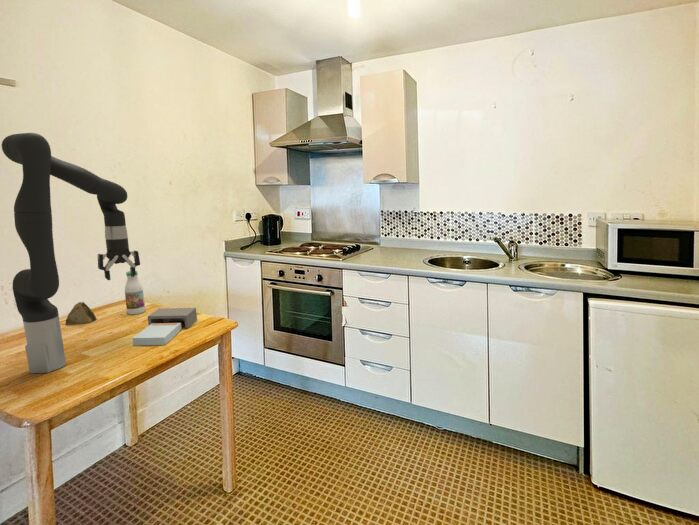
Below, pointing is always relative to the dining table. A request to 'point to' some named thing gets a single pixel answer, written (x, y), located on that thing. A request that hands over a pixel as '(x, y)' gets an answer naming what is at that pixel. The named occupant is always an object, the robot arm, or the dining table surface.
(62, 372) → the dining table surface
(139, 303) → the milk bottle
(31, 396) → the dining table surface
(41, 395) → the dining table surface
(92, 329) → the dining table surface
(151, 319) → the low shelf
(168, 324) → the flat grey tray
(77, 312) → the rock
